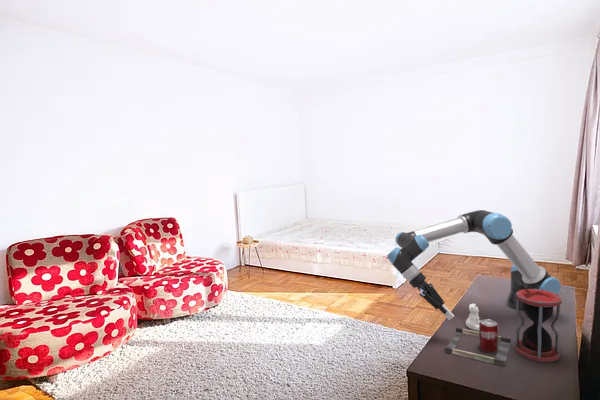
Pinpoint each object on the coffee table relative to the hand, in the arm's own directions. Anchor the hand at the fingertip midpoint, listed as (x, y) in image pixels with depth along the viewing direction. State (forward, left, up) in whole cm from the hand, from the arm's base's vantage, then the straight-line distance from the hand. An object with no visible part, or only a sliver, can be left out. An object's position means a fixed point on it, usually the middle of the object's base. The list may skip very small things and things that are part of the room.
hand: (451, 317), depth 175 cm
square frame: (0, +11, -11) cm, 16 cm away
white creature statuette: (-19, +7, -11) cm, 23 cm away
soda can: (0, +15, -11) cm, 19 cm away
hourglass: (-7, +33, -11) cm, 35 cm away
